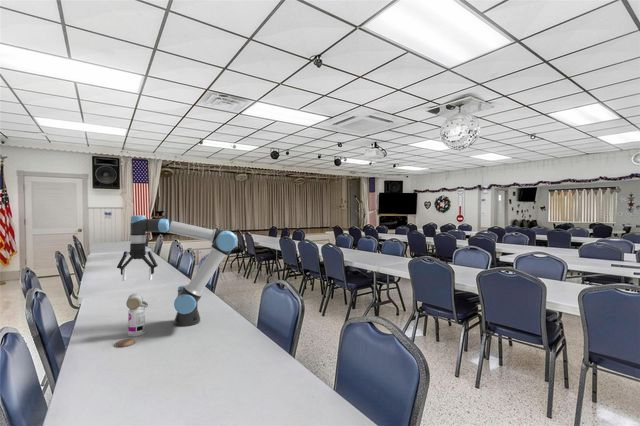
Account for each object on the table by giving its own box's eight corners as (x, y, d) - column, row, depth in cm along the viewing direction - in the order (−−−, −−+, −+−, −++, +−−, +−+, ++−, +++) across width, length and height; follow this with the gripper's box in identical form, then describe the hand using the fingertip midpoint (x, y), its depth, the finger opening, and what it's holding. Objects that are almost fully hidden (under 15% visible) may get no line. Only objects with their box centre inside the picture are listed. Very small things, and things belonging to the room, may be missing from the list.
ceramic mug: (125, 310, 172) (126, 296, 172) (127, 306, 180) (128, 293, 180) (147, 309, 177) (148, 295, 177) (148, 305, 184) (149, 291, 184)
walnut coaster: (138, 339, 171) (138, 337, 171) (131, 346, 162) (131, 344, 162) (119, 341, 169) (119, 339, 169) (112, 348, 160) (112, 346, 160)
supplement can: (127, 338, 173) (128, 310, 173) (128, 333, 180) (129, 306, 180) (144, 335, 176) (145, 308, 177) (145, 330, 184) (145, 305, 184)
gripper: (163, 241, 185) (163, 278, 185) (116, 242, 180) (115, 279, 179) (159, 243, 177) (159, 280, 177) (110, 243, 172) (109, 282, 172)
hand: (137, 280), depth 178 cm, fingers open, 13 cm apart
